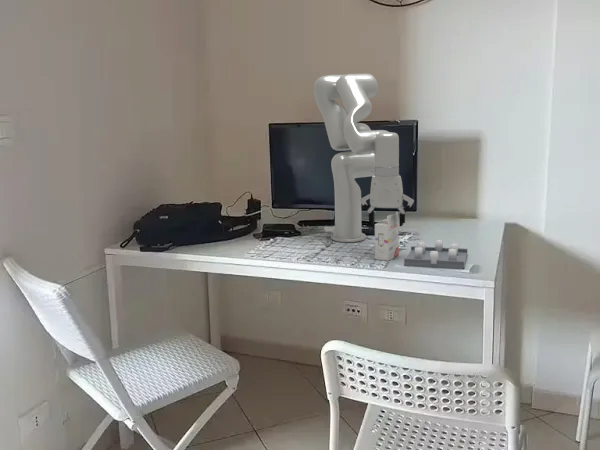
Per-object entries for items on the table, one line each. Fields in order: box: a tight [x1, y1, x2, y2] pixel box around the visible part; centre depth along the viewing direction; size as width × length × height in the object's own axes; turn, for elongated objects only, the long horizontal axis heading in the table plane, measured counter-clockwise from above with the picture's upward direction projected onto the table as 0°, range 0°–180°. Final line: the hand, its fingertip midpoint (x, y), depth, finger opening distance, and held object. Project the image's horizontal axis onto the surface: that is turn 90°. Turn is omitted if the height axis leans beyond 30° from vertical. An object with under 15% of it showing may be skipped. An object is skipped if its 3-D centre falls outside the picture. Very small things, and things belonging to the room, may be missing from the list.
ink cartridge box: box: [374, 211, 400, 262], centre depth 213 cm, size 9×5×15 cm, turn 148°
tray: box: [403, 239, 468, 269], centre depth 209 cm, size 18×17×5 cm
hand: (386, 224), depth 213 cm, fingers open, 9 cm apart
